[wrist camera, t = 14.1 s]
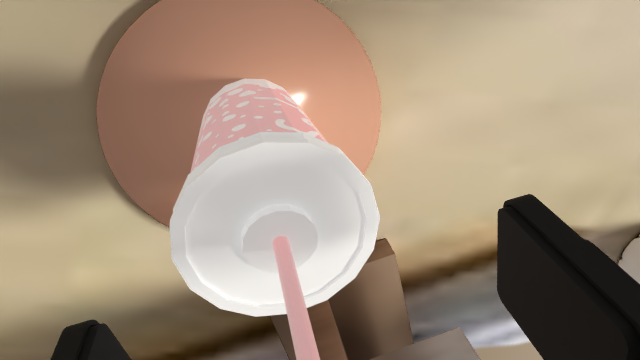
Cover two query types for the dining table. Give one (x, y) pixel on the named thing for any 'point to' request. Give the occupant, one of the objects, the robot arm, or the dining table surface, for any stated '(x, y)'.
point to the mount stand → (373, 320)
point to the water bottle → (632, 259)
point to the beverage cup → (270, 211)
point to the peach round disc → (222, 69)
